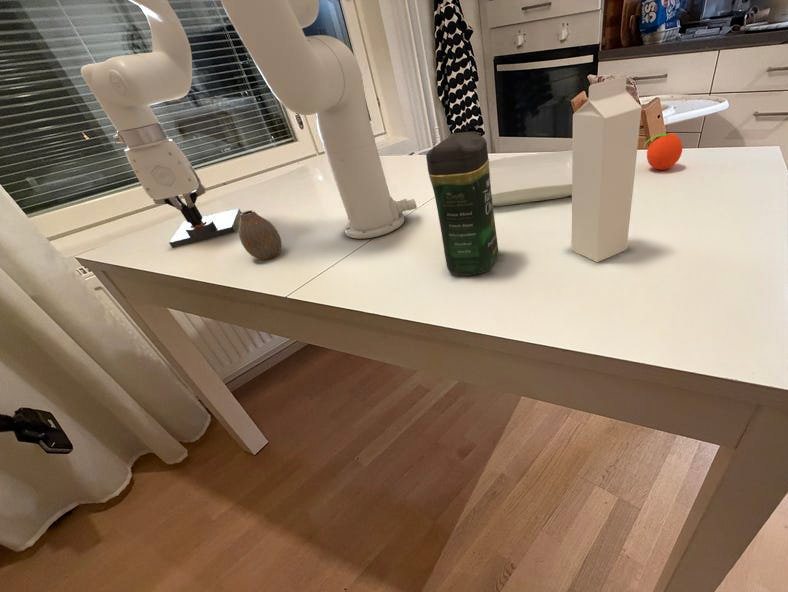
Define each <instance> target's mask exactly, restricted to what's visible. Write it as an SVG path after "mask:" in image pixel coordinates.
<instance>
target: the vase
mask: <svg viewBox="0 0 788 592" xmlns="http://www.w3.org/2000/svg"><path fill="white" fill-rule="evenodd" d="M241 213H242V214H241V217H240V223H239V228H238V236H239V240H240V243H241V245H242V246H243V248H244V249H245V251H246V252H247V253H248V254H249V255H250V256H251V257H253V258H255V259H257V260H258V261H259V260H260V261H267V260H271V259H274V258H276V257H277V256H279V255H280V253H281V250H282V248H283V247H282V246H283V245H282V239H281V235H280V233H279V232H278V231H279V230H277V228H276V227H275V226H274V224H273V223H272V222H271V221H269V220H268V219H266V218H264V217H263V216H261V215H259V214H258V213H256V211H254V210H246V211H243V212H241Z"/></svg>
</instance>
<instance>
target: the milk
mask: <svg viewBox="0 0 788 592" xmlns="http://www.w3.org/2000/svg"><path fill="white" fill-rule="evenodd" d="M627 79H628V78H627V76H626V75H623V76H619V77H616V78H612V79H608V80H603V81H601V82H597V83H593V84H590V85H589V87H588V96H587V97H588V98H587V99H588V100H587V101H586V102H585V103H584V104H582V105H581V106H580V108H578V109H577V110H576V111H575V112H574V113H573V114H572V149H571V150H572V195H571V246H570V247H571V251H572V252H575V253H576V254H578V255H581V256H583V257H585V258H587V259H590V261H593V262H595V263H599V262H602V261H603V260H607V259H608V258H610V257H613V256H615V255H617V254H620V253H622V252H624V251H627V249H628V241H629V232H630V231H629V230H630V222H631V212H632V203H633V194H634V185H635V184H634V183H635V174H636V165H637V158H638V157H637V156H638V147H639V146H638V145H639V136H640V129H641V128H640V127H641V118H642V109H643V107H642V105H640V104H639V103H638V101H636V99H635V98H634V97H633V96H632V95H631V94H630V93H629V92H628V90H627Z"/></svg>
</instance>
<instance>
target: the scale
mask: <svg viewBox="0 0 788 592" xmlns="http://www.w3.org/2000/svg"><path fill="white" fill-rule="evenodd" d="M242 213H243V212H242V210H241V209H240V207H239V208H234V209H230V210H226V211H222V212H218V213H214V214H210V215H206V216H202V218H203V219H202V222H205V223H206V224H205V225H203V226H200V227H196V228H192V225H191V223H188V222H187V221H186V220H185V221H183V222H182V223H181V225H180V226H179V228H178V229H177V231H176V232H175V234H174V235H173V236H172V238H171V239H170V240H169V242H168V244H169V246H170V247H171V248H172V249H176V248H179V247H182V246H187V245H191V244H194V243H195V244H196V243H198V242H202V241H207V240H211V239H213V238H218V237H221V236H226V235H229V234H233V233H236V231H237V228H238V225H239V222H240V221H241V214H242Z"/></svg>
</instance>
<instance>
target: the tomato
mask: <svg viewBox="0 0 788 592" xmlns="http://www.w3.org/2000/svg"><path fill="white" fill-rule="evenodd" d="M651 140H652V141H651ZM650 141H651V142H650ZM648 142H650V143H649V145H648V147H647V149H646V159H647V163H648V164H649V166H650V167H651V168H652V169H654V170H660V171H664V170H668V169H669V168H672V167H673V166H675V165H676V163H678V161H679V159H680V158H681V156H682V153H683V143H682V140H681V139H680V137H679V136H677V135H676V134H674V133H670V132H666V133H659V134H655V135H654V136H652V137H651V138H649V139H647V141H646V142H645V143H644V145H643V147H645V145H646V144H648Z"/></svg>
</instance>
